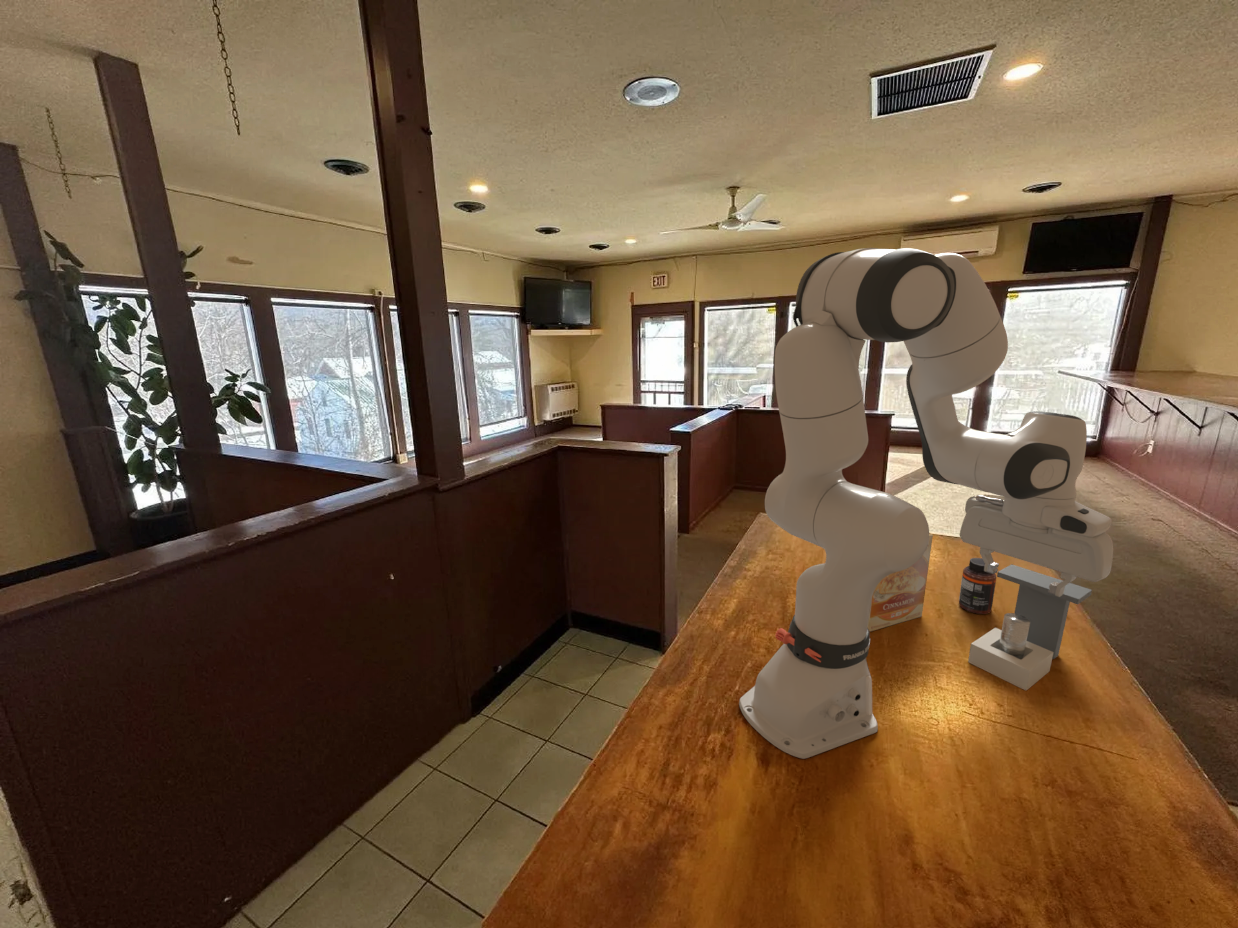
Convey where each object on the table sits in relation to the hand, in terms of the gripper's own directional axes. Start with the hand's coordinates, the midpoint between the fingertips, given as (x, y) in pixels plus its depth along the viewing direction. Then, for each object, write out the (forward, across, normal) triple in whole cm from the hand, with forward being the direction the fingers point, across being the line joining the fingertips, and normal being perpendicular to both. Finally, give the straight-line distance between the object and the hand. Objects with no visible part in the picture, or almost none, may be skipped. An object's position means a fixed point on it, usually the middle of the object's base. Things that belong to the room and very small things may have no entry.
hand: (1021, 582), depth 84 cm
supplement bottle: (+17, -13, +17) cm, 27 cm away
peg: (+17, 0, +1) cm, 17 cm away
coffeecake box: (+18, -22, -2) cm, 28 cm away
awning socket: (+17, 0, +4) cm, 18 cm away
